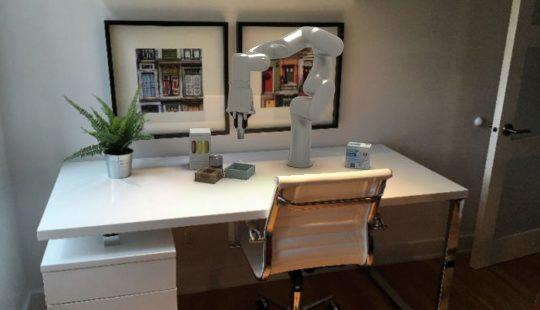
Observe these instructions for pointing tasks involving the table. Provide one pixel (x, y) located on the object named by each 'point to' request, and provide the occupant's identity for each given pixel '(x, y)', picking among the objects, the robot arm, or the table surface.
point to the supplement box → (199, 147)
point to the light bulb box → (358, 155)
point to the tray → (240, 170)
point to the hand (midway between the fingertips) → (240, 127)
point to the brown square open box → (209, 175)
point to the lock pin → (240, 125)
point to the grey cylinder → (216, 161)
